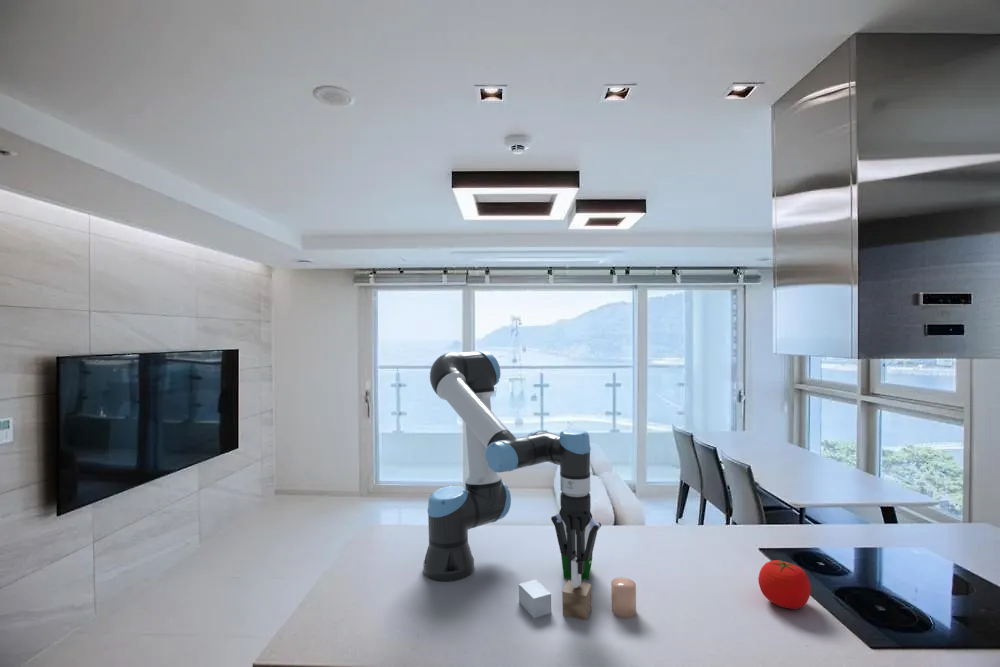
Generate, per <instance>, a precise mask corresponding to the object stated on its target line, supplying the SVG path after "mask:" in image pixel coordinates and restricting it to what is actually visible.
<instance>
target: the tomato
mask: <svg viewBox="0 0 1000 667" xmlns="http://www.w3.org/2000/svg"><path fill="white" fill-rule="evenodd" d="M757 580H758V586H759V588H760V591H761V593H762V595H763V596H764V597H765V598H766V599H767V600H768V601H770V602H771V603H773V604H774V605H777V606H780V607H781V608H785V609H791V610H795V609H797V610H798V609H800V608H803V607H804V606H805V605H806V604H807V603H808V601H809V598H810V596H811V592H812V586H811V582H810V579H809V577H808V575H807V573H806V571H805V570H804V569H803V568H801V567H800V566H798V565H797V564H795V563H791V562H787V561H783V560H781V559H777V560H775V559H774V560H770V561H767V562H766V563H764V564H763V566H762V567H761V568H760V571H759V573H758V579H757Z"/></svg>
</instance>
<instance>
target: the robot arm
mask: <svg viewBox="0 0 1000 667" xmlns="http://www.w3.org/2000/svg"><path fill="white" fill-rule="evenodd" d="M500 379H501V367H500V364H499V361H498V360H497V358H496V357H495V356H494V355H493V354H492V353H490V352H489V351H483V350H474V351H459V352H457V351H456V352H447V353H444V354H442V355H440V356H439V357H438V358H436V360H435V361H434V362H433V363H432V365H431V368H430V372H429V382H430V385H431V388H432V390H433V391H434V392H435V395H437V397H438V398H439V399H441V400H444V401H446V402H447V403H448V404H449V405H450V407H452V409H453V410H454V411H455V412H456V414H457V415H458V416H459V417H460V419H461V420H462V421H463V423H464V424H465V434H466V437H465V438H466V446H467V447H466V448H467V449H466V450H467V460H468V461H467V462H468V473H469V474H468V477H466V479H465V481H464V484H465V487H464V486H462V485H452V486H450V485H447V486H444V487H441V488H439V489H436V490H435V491H433V492H432V493H431V494H430V496H429V497H428V504H427V505H428V506H427V507H428V508H427V514H428V515H427V516H428V519H427V520H428V547H427V550H426V553H425V557H424V559H423V567H422V568H423V574H424V573H425V574H424V575H425V576H426V577H427V576H428V577H427V578H429V579H431V580H434V581H441V582H450V581H451V582H452V581H456V580H461V579H463V578H466V577H468V576H469V575H471V574H472V573H473V571H474V569H475V560H474V559H475V558H474V556H473V554H472V551H471V547H470V544H469V538H468V537H469V536H468V535H469V533H468V532H469V530H470V529H475V528H477V527H480V526H484V525H487V524H490V523H495V522H497V521H499V520H502V519H504V518H505V517H506V516H507V514H508V513H509V511H510V509H511V504H512V497H511V492H510V490H509V487H508V485H507V483H505V482H504V481H502V476H500V475H499V474H498V473H508V472H511V471H512V472H513V471H515V470H518V469H523V468H526V467H530V466H536V465H539V464H543V463H550V464H554V465H558V466H559V476H560V478H559V479H560V482H559V484H560V491H561V492H560V495H559V496H560V510H559V513H555V514H554V515H552V516H551V518H550V519H551V522H552V523H553V526H554V529H555V533H556V539H557V542H558V547H559V552H560V555H563V556H564V555H565V556H566V557H567V558H568V570H569V571H570V572H571V578H570V579H571V580H570V581H571V584H572V587H575V588H578V586H579V585H580V584H581V583H582V579H581V575H582V573H583V572H584V561H588V560H589V559H590V558H591V557H592V558H593V551H594V547H595V544H596V539H597V534H598V531H599V530H600V528H601V527H602V523H601V522H600V521H599V522H596V520H595V519H594V518H593V515H592V512H591V508H592V507H591V506H592V503H591V493H590V492H591V449H592V448H591V445H590V444H591V442H590V435H589V433H588V432H587V431H586V430H583V429H576V428H568V429H567V428H566V429H563V430H561V431H560V433H559V434H557V433H552V432H549V431H547V430H537V429H536V430H532V431H531V432H530V433H528V435H526V436H519V437H516V436H515V435H514V434H513V433H512V432H511V431H510V430H509V429H508V428H507V426H506V425H504V424H503V423H502V421H501V420H500V419H499V418H498V417H497V416H496V415H495V413H493V411H492V404H491V402H492V401H491V397H492V396H493V395H494V393H495V386H496V385H497V384H498V383H499V382H500ZM562 520H563V521H564V523H565V525H566V532H567V539H566V534H565V530H564V525H563V522H562ZM589 523H590V532H589V536H588V540H587V545H586V549H585V528H586V526H587V525H588V524H589ZM575 531H576V542H577V553H576V554H577V557H575V555H576V554H575Z"/></svg>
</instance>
